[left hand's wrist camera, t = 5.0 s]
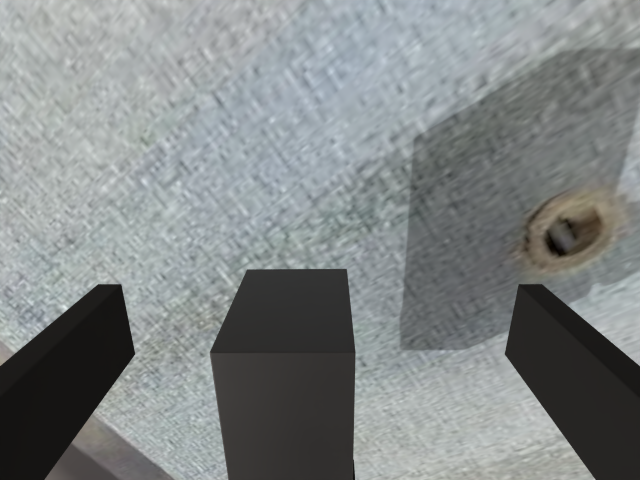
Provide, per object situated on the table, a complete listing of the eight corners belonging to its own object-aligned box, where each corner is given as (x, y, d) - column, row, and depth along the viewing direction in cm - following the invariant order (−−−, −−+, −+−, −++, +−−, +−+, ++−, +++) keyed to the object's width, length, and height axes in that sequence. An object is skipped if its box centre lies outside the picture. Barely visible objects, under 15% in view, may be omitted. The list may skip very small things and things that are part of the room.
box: (246, 269, 27) (209, 352, 19) (346, 268, 27) (355, 352, 18) (268, 491, 36) (248, 620, 27) (344, 491, 35) (349, 621, 27)
